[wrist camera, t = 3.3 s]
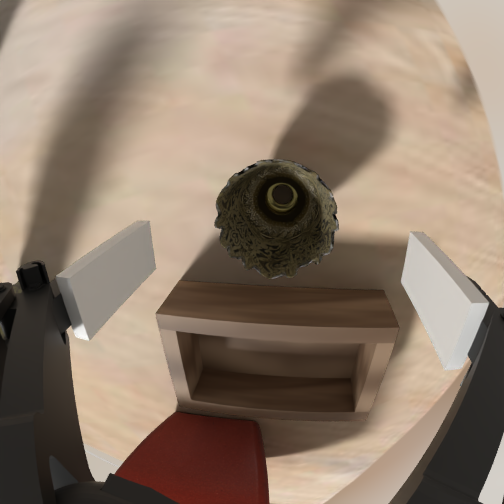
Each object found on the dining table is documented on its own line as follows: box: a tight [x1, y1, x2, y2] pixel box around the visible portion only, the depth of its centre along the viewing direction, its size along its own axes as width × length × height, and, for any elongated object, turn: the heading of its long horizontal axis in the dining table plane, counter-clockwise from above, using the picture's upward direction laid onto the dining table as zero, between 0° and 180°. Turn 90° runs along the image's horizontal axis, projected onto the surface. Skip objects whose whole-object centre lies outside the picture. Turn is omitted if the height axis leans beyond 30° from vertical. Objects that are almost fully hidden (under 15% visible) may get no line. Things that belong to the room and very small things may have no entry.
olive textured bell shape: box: [214, 159, 339, 279], centre depth 21 cm, size 8×7×8 cm
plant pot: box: [114, 412, 269, 504], centre depth 33 cm, size 19×19×17 cm
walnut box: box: [156, 280, 399, 421], centre depth 28 cm, size 13×20×6 cm, turn 91°
